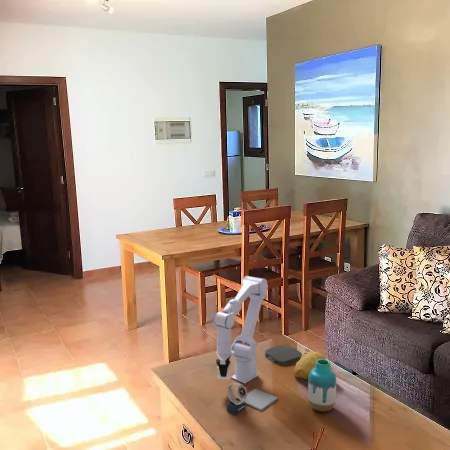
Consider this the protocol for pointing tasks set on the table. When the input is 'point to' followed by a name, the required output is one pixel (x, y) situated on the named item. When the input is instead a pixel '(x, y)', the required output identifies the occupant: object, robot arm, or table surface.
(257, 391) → the mat
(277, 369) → the table surface
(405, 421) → the table surface
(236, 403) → the watch
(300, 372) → the decorative stone
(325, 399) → the vase
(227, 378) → the letter cube
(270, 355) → the media streaming box
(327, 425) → the table surface
